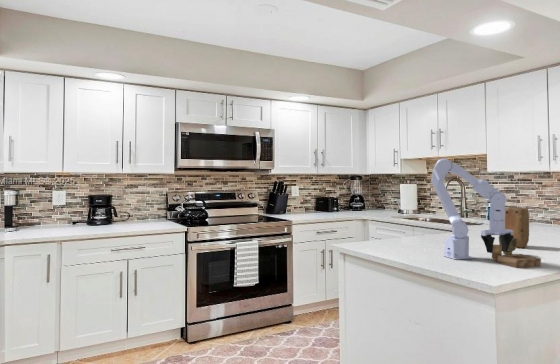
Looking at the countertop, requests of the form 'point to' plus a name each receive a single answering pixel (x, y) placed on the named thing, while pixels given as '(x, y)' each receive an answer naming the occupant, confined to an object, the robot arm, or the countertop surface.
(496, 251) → the peg
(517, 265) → the board
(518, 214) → the block
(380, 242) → the countertop surface
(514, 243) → the cup
